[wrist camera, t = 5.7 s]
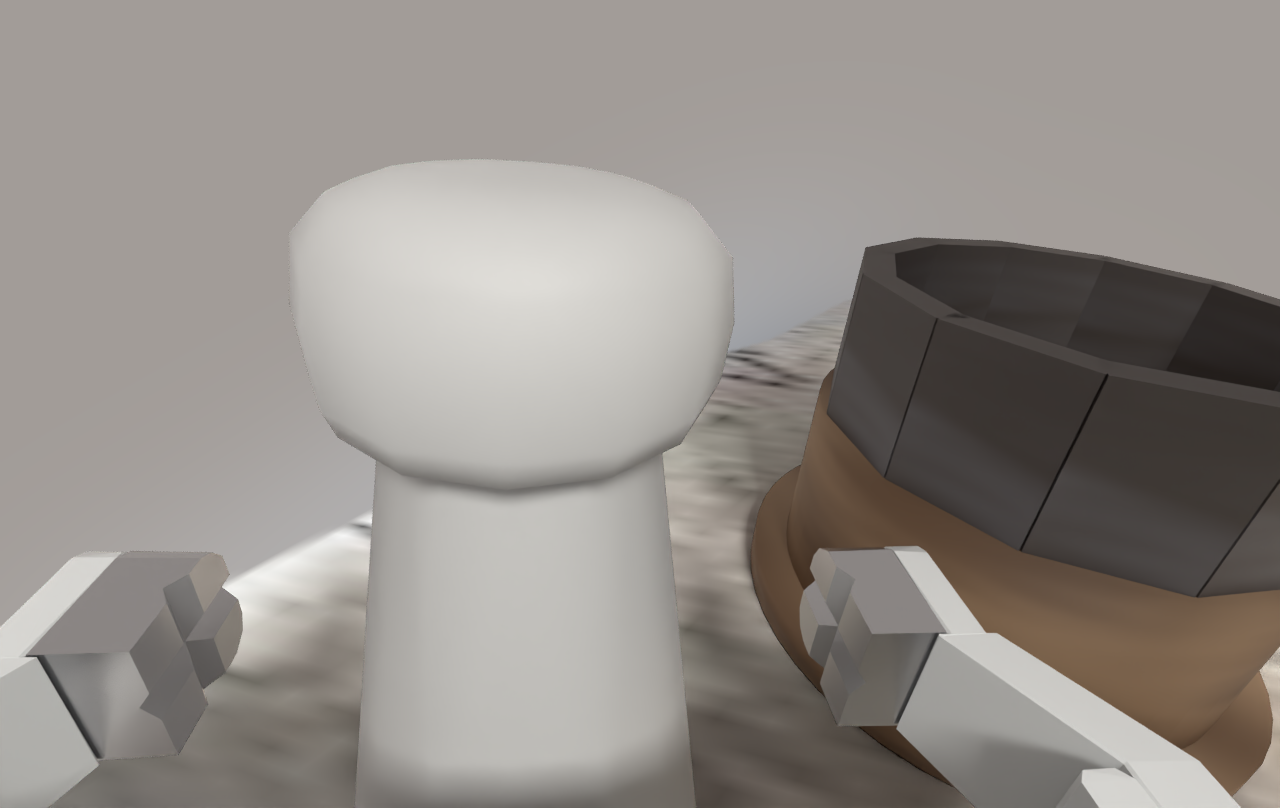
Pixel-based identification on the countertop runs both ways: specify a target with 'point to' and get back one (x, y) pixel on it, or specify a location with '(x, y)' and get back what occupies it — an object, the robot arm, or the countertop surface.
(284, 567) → the countertop surface
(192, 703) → the robot arm
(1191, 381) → the brown pot
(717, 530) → the countertop surface
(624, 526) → the salt shaker
